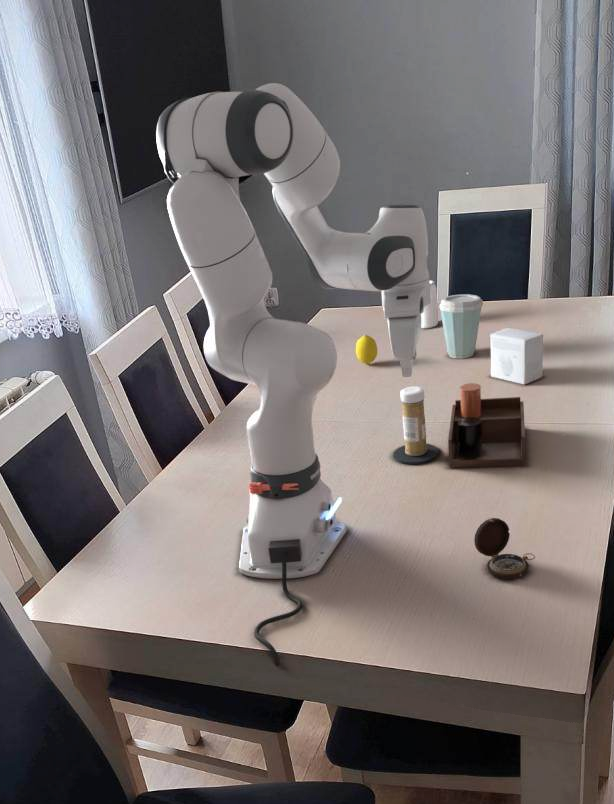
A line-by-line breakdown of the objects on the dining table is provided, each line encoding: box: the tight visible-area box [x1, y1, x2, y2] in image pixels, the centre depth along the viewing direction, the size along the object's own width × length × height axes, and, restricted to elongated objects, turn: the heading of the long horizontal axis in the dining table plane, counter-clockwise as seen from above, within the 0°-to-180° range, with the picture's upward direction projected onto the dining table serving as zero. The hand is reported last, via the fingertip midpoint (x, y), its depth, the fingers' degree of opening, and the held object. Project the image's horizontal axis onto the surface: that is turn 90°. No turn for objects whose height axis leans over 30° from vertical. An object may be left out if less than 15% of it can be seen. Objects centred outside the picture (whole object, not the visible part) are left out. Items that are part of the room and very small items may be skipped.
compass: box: [473, 517, 536, 580], centre depth 135 cm, size 8×8×7 cm
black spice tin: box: [458, 417, 483, 459], centre depth 171 cm, size 4×4×7 cm
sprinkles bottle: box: [400, 385, 427, 456], centre depth 173 cm, size 5×5×14 cm
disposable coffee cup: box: [438, 293, 484, 360], centre depth 219 cm, size 11×11×15 cm
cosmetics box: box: [489, 327, 544, 385], centre depth 202 cm, size 10×6×10 cm, turn 34°
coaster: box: [392, 443, 439, 465], centre depth 176 cm, size 9×9×1 cm
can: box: [421, 280, 439, 330], centre depth 246 cm, size 6×6×12 cm
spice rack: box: [447, 396, 526, 469], centre depth 173 cm, size 18×14×7 cm
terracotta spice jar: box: [459, 382, 482, 418], centre depth 176 cm, size 4×4×6 cm
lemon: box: [355, 334, 378, 366], centre depth 226 cm, size 6×6×8 cm
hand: (409, 367), depth 167 cm, fingers open, 8 cm apart
